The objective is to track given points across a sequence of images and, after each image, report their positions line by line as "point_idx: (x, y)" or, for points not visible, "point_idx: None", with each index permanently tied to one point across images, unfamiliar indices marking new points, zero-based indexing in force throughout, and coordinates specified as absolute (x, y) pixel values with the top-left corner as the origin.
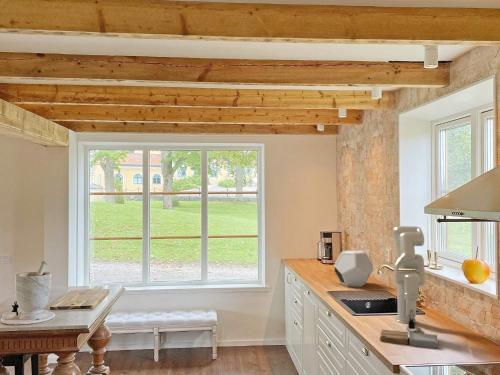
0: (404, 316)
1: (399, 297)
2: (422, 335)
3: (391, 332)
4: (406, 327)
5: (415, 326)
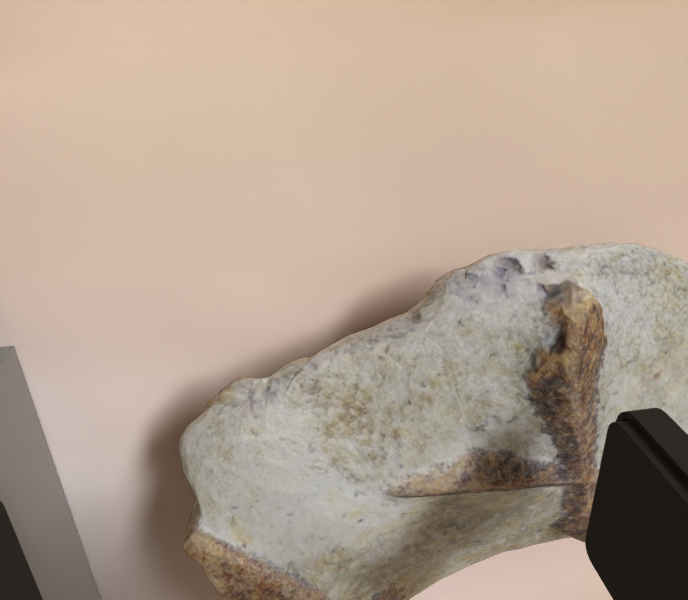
0: None
1: None
2: None
3: None
4: (539, 271)
5: None
